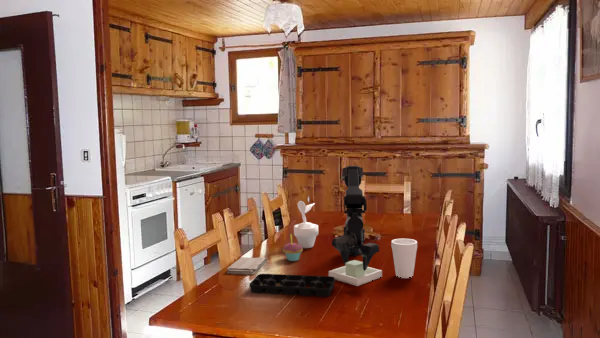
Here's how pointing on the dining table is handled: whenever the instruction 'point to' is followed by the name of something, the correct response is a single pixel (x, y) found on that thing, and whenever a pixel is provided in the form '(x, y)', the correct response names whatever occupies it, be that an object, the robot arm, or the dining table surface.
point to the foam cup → (404, 256)
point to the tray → (341, 276)
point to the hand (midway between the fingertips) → (355, 267)
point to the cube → (354, 269)
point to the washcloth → (247, 266)
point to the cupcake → (292, 250)
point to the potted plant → (305, 227)
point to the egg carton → (293, 284)
